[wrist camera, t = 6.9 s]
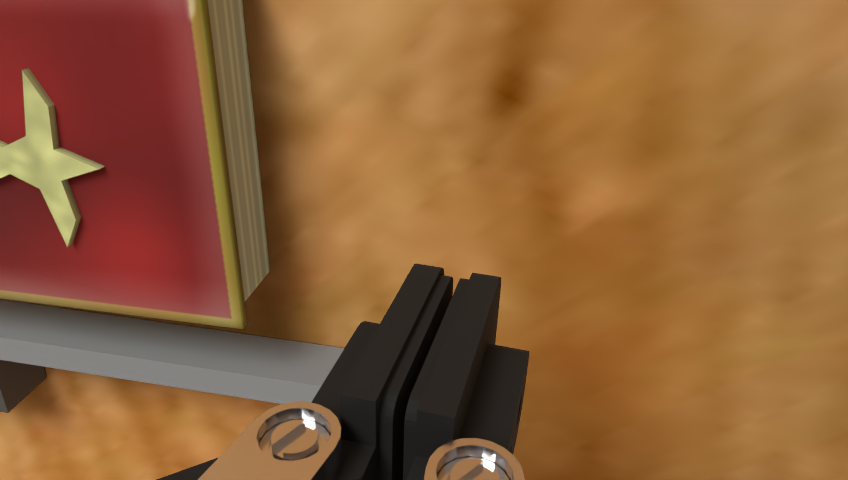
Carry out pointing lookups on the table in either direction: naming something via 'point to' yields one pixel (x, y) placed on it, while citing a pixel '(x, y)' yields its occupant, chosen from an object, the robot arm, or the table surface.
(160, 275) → the hardcover book
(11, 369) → the grey u-shaped frame
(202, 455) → the table surface
